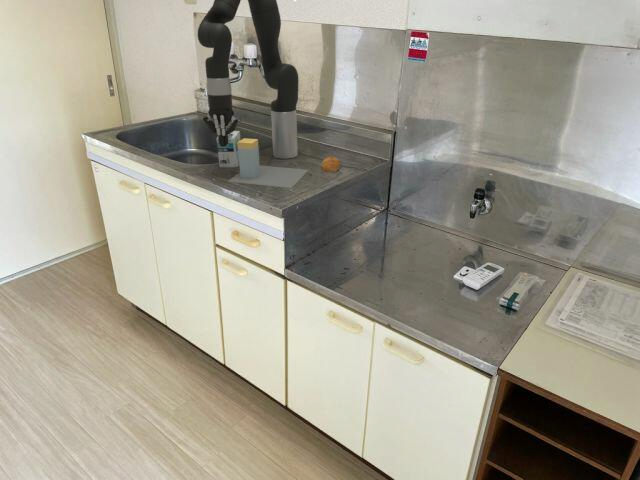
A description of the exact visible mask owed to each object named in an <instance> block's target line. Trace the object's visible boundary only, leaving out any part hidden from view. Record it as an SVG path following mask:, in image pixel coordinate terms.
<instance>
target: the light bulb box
mask: <svg viewBox="0 0 640 480" xmlns="http://www.w3.org/2000/svg"><path fill="white" fill-rule="evenodd" d="M240 140H242V138H241V131H240V130H234V131H233V132H232V133H230V134H228V144H227V146H225V147H222V146H220V145H219V140H218V136H217V137H216V147H217V155H218V163H219V164H218V165H219V166H218V167H219V168H238V167H240V166H239V155H238V143H237V142H239V141H240Z"/></svg>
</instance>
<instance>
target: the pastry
mask: <svg viewBox="0 0 640 480" xmlns="http://www.w3.org/2000/svg"><path fill="white" fill-rule="evenodd" d="M320 166H321V169H322V171H323V172H324V173H327V174H334V173H336V172H337V171H339V170H340V168H341V160H339V159H338V157H335V156H329V157H325V159H323V161H322V162H321V165H320Z"/></svg>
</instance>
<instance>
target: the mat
mask: <svg viewBox="0 0 640 480" xmlns="http://www.w3.org/2000/svg"><path fill="white" fill-rule="evenodd" d="M308 171H309V169H303V168H293V167H280V166H270V165H260V175H258V176H257V177H256V178H255V179H250V178H240V172H238V173H237V174H236V175H234V176H233V177H232V178H230V179H229V180H227V182H231V183H237V184H248V185H255V186H256V185H259V186H265V187H266V186H268V187H276V188H277V187H278V188H286V189H292V188H293V187H294V186H295V185H296V184H297V183H298V181H300V180H301V179H302V177H303V176H304V175H305V174H307V172H308Z"/></svg>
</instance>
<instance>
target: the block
mask: <svg viewBox="0 0 640 480" xmlns="http://www.w3.org/2000/svg"><path fill="white" fill-rule="evenodd" d="M237 143H238V155H239V166H238V167H239V173H240V178H250V179H255V178H256V177H257V176H258V175H260V152H259V151H260V149H259V139H258V138H245V137H243V138H241V140H240V141H239V142H237Z"/></svg>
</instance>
